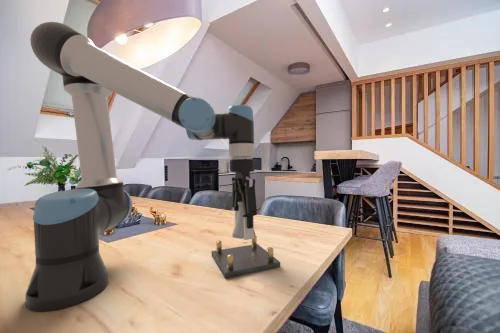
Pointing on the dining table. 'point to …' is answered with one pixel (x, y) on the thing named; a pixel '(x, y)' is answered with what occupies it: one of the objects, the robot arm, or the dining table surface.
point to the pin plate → (244, 259)
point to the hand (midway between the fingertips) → (244, 234)
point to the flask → (240, 223)
